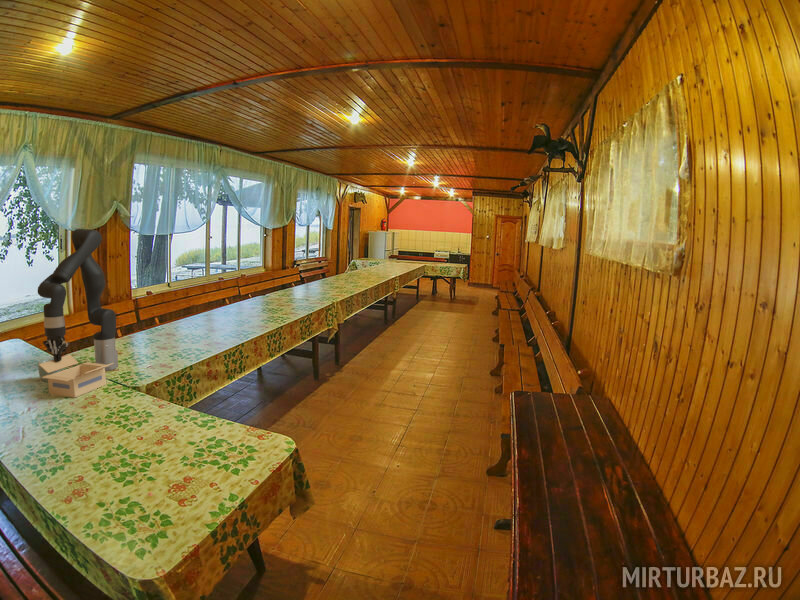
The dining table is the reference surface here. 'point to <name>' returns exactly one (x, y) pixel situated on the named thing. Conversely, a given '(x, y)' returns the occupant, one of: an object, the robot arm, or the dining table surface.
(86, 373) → the flap
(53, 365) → the flap
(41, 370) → the cup
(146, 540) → the dining table surface
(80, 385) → the carton
